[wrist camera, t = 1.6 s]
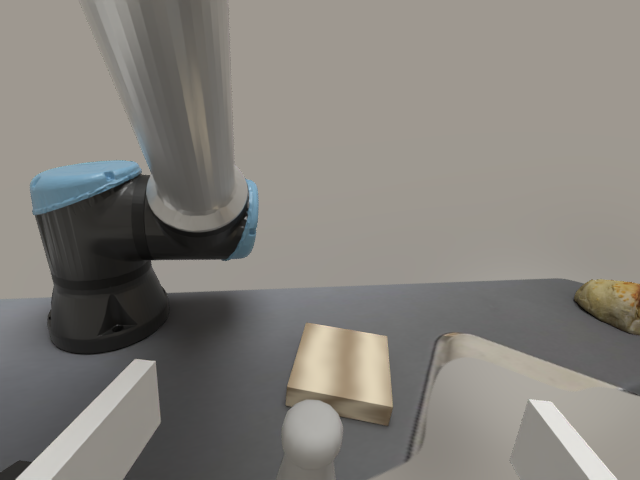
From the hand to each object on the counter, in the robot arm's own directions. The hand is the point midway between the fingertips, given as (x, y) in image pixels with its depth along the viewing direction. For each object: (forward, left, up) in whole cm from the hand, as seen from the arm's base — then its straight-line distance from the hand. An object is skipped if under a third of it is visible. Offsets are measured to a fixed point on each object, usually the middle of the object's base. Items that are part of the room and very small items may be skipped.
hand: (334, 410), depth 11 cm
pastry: (+54, +54, -23) cm, 80 cm away
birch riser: (+1, +24, -23) cm, 33 cm away
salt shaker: (-1, +7, -23) cm, 24 cm away
